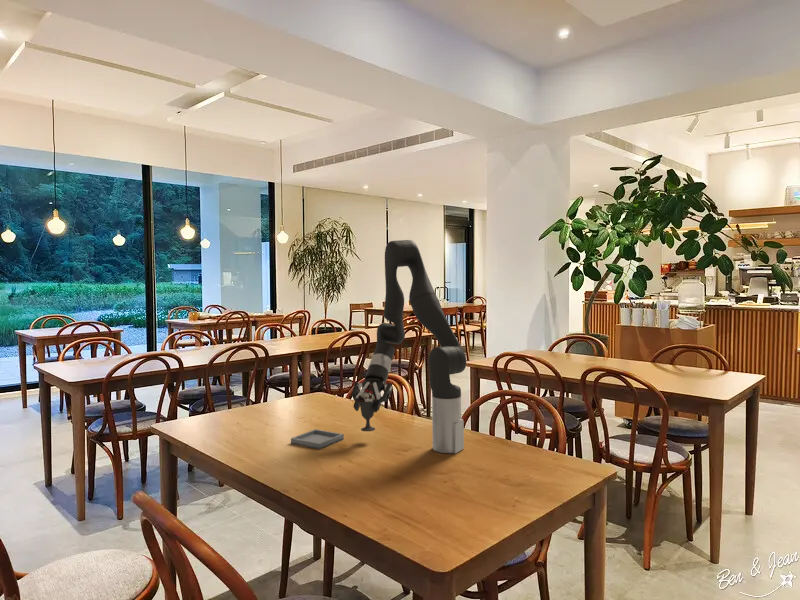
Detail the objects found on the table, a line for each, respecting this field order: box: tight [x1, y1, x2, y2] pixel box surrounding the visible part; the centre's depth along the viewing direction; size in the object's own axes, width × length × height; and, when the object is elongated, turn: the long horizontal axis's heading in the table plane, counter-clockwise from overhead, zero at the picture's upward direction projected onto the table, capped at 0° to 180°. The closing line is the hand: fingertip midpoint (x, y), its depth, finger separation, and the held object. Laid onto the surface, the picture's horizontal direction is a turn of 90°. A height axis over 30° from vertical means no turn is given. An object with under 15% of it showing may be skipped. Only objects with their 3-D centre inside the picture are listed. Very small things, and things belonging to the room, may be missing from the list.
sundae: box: [358, 385, 377, 432], centre depth 183 cm, size 7×7×15 cm
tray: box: [290, 428, 345, 450], centre depth 185 cm, size 13×13×2 cm
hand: (365, 410), depth 182 cm, fingers closed on sundae, 6 cm apart
